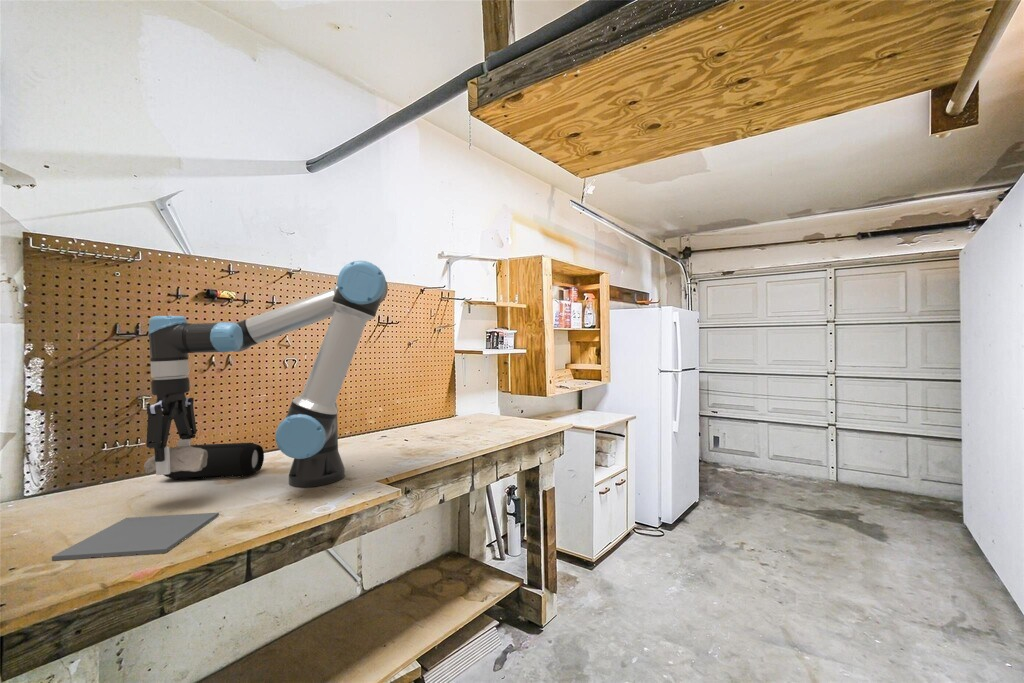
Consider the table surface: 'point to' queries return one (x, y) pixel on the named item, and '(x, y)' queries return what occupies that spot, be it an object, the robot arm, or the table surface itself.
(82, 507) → the table surface
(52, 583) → the table surface
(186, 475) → the portable speaker
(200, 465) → the concrete fragment
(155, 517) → the rubber mat
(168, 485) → the table surface
